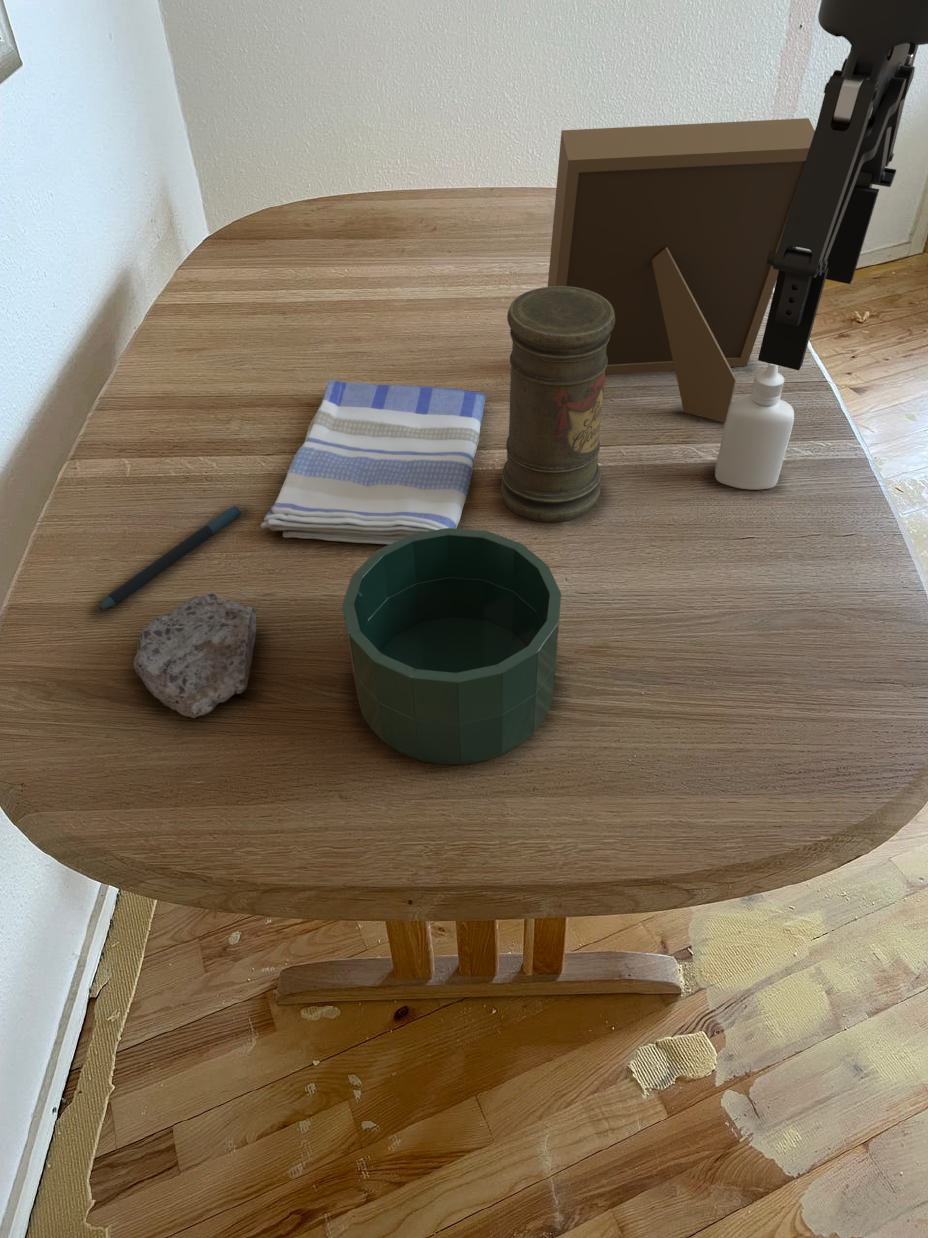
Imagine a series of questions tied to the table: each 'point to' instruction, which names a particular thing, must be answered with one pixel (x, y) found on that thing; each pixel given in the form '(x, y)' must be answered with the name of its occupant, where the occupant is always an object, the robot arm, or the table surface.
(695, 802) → the table surface
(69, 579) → the table surface
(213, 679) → the rock
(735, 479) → the eye dropper bottle
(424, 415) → the dish towel
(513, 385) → the container
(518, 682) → the pot
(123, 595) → the pen
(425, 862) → the table surface
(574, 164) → the photo frame
